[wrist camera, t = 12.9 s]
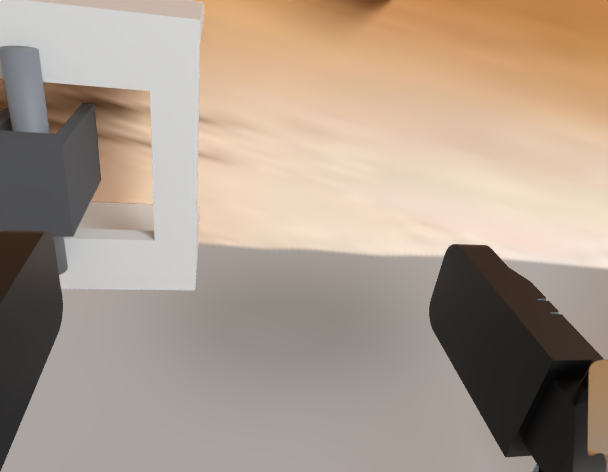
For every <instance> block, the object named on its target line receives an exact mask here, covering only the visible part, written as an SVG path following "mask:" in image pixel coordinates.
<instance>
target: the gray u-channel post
mask: <svg viewBox="0 0 608 472" xmlns="http://www.w3.org/2000/svg"><path fill="white" fill-rule="evenodd" d="M100 181H101V174H100V163H99V151H98V139H97V128H96V116H95V104H89V103H82V104H81V106H80V107H79V108H78V109H77V110H76V112H75V113H74V114H73V115H72V116H71V117H70V119H69V120H68V121H67V122H66V123H65V124H64V126H63V127H62V128H61V129H60V130H59V131H58V133H57V134H50V133H34V132H18V131H13V130H12V124H11V119H10V113H9V107H7V108H6V109H5V110H3V111H2V112H1V113H0V232H1V231H3V230H31V231H49V232H50V233H51V234H52V236H58V237H73V236H74V234H75V232H76V230H77V228H78V226H79V224H80V222H81V220H82V218H83V216H84V214H85V212H86V209H87V207H88V205H89V203H90V201H91V199H92V197H93V195H94V193H95V191H96V189H97V187H98V185H99V183H100Z"/></svg>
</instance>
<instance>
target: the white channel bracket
mask: <svg viewBox="0 0 608 472" xmlns="http://www.w3.org/2000/svg"><path fill="white" fill-rule="evenodd" d="M203 24H204V2H200V1H191V0H0V78H1V79H4V84H5V89H6V95H7V101H8V107H9V113H10V119H11V124H12V130H13V131H18V132H34V133H50V130H49V123H48V115H47V108H46V100H45V93H44V86H43V82H48V83H60V84H72V85H84V86H96V87H107V88H119V89H131V90H143V91H150V104H151V137H152V170H153V203H154V204H130V203H106V202H90V203H89V205H88V207H87V209H86V212H85V214H84V216H83V218H82V220H81V222H80V224H79V226H78V228H77V230H76V232H75V234H74V236H73V237H58V236H53V240H54V244H55V251H56V258H57V265H58V272H59V278H60V285H61V289H117V290H121V289H122V290H195V285H196V269H197V254H198V239H199V223H200V206H197V186H198V131H199V75H200V40H201V35H202V30H203Z"/></svg>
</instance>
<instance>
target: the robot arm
mask: <svg viewBox="0 0 608 472" xmlns="http://www.w3.org/2000/svg"><path fill="white" fill-rule="evenodd" d="M62 312H63V301H62V292H61V285H60V278H59V272H58V265H57V258H56V251H55V244H54V240H53V236H52V234H51V233H50V232H49V231H31V230H3V231H1V232H0V471H1V468H2V466H3V464H4V461H5V459H6V457H7V454H8V452H9V449H10V447H11V444H12V442H13V440H14V437H15V435H16V433H17V430H18V428H19V426H20V423H21V421H22V418H23V416H24V414H25V411H26V409H27V406H28V404H29V402H30V399H31V397H32V394H33V392H34V390H35V387H36V385H37V382H38V380H39V377H40V375H41V373H42V370H43V368H44V365H45V363H46V361H47V358H48V356H49V354H50V351H51V349H52V346H53V344H54V341H55V339H56V337H57V334H58V332H59V329H60V325H61V320H62ZM429 316H430V322H431V326H432V329H433V331H434V333H435V334H436V336H437V338H438V340H439V342H440V343H441V345H442V347H443V348H444V350H445V352H446V354H447V356H448V357H449V359H450V361H451V362H452V364H453V366H454V368H455V370H456V371H457V373H458V375H459V377H460V378H461V380H462V382H463V384H464V385H465V387H466V389H467V391H468V393H469V394H470V396H471V398H472V399H473V401H474V403H475V405H476V407H477V408H478V410H479V412H480V414H481V415H482V417H483V419H484V421H485V422H486V424H487V426H488V428H489V429H490V431H491V433H492V435H493V436H494V438H495V440H496V442H497V444H498V445H499V447H500V449H501V450H502V452H503V454H504V456H505V457H516V456H531V455H532V456H533V458H534V460H535V461H536V463H537V464H536V467H535V468H534V470H533V472H608V359H603V358H602V357H601V356H600V355H599V353H598V352H596V351H595V349H594V348H593V347H592V346H591V345H590V344H589V343H588V342H587V341H586V340H585V339H584V338H583V337H582V335H580V333H579V332H578V331H577V330H576V329H575V328H574V327H573V326H572V325H571V324H570V323H569V322H568V321H567V320H566V319H565V318H564V316H563V315H560V314H558V310H557V309H556V308H555V307H554V306H553V305H552V304H551V303H550V302H549V301H546V297H545V296H544V295H543V294H542V293H541V292H540V291H539V290H538V289H537V288H536V287H535V286H534V285H533V284H532V283H531V282H530V281H529V280H527V279H526V278H524V277H522V276H521V275H519V274H518V273H516V272H515V271H513V270H511V269H510V268H509V267H508V266H507V265H506V264H505V263H504V262H503V261H502V260H501V259H500V258H499V257H498V255H497V254H496V253H495V252H494V251H493V250H492V249H491V248H490V247H489V246H486V245H463V244H453V245H451V246H450V247H449V248H448V249H447V251H446V253H445V256H444V259H443V262H442V266H441V269H440V272H439V275H438V279H437V282H436V285H435V288H434V292H433V295H432V298H431V301H430V307H429Z"/></svg>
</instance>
